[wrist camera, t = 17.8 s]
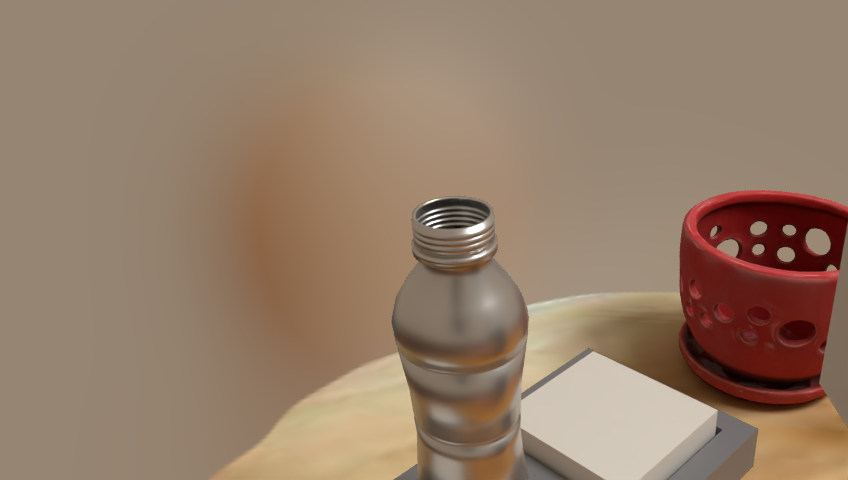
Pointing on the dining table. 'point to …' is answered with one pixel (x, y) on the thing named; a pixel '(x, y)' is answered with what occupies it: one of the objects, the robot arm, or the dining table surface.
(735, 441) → the keypad frame
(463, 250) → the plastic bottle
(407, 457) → the dining table surface
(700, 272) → the plant pot
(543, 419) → the pale key
